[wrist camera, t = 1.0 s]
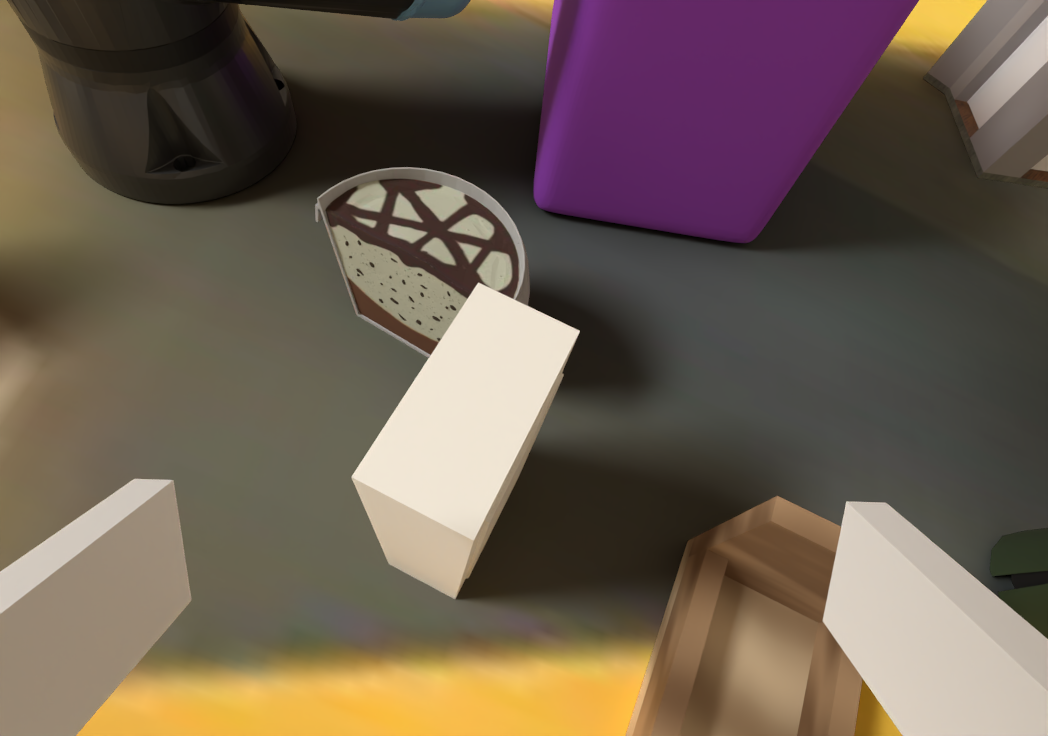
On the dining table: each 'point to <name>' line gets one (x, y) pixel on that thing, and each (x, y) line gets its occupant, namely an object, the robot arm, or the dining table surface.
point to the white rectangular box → (462, 437)
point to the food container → (420, 249)
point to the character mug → (1025, 574)
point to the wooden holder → (751, 635)
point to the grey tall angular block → (1001, 90)
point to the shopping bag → (697, 105)
